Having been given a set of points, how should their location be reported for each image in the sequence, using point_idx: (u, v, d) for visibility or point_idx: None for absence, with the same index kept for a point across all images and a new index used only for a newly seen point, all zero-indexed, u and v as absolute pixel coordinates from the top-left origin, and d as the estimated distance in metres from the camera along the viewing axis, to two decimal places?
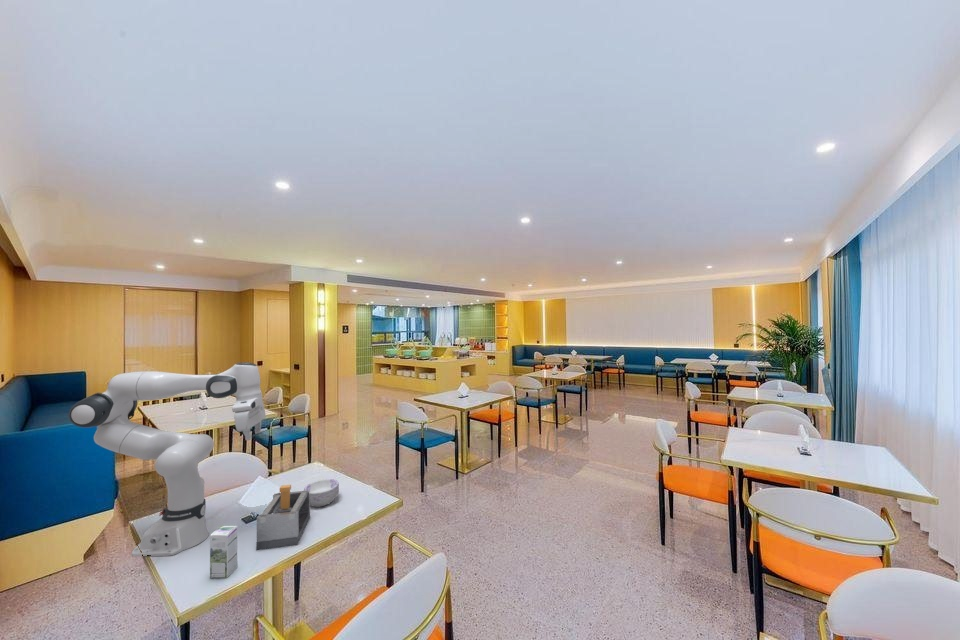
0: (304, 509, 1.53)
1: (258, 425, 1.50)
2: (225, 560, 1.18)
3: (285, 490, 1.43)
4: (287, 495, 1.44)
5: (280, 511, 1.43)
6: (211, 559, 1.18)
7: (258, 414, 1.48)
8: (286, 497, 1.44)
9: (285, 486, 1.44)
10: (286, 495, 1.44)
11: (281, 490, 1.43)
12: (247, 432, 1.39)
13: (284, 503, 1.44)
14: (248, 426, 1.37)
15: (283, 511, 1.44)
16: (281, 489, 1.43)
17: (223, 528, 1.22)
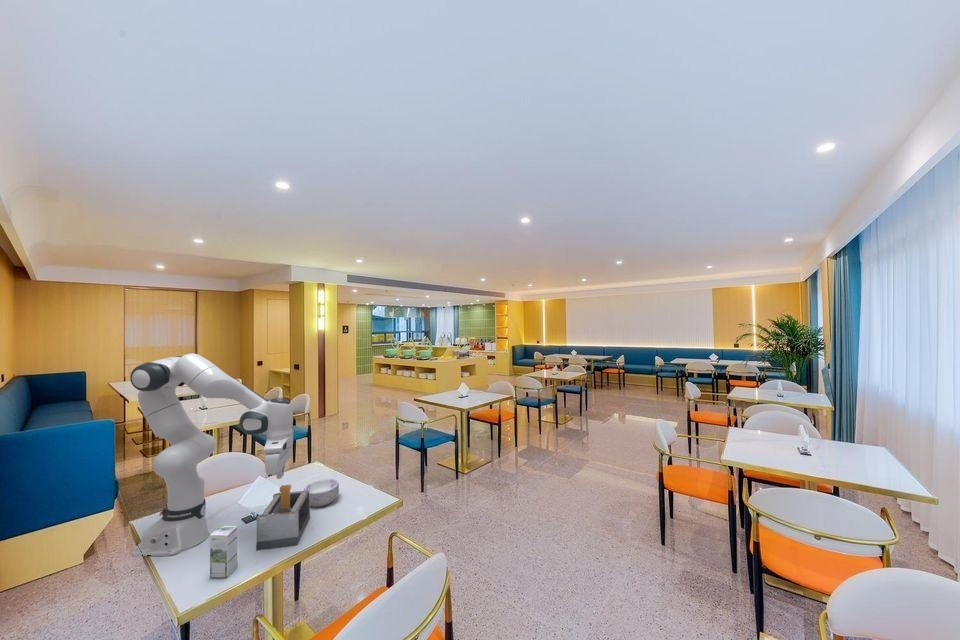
0: (304, 509, 1.53)
1: (282, 468, 1.39)
2: (225, 560, 1.18)
3: (285, 490, 1.43)
4: (287, 495, 1.44)
5: (280, 511, 1.43)
6: (211, 559, 1.18)
7: (287, 453, 1.41)
8: (286, 497, 1.44)
9: (285, 486, 1.44)
10: (286, 495, 1.44)
11: (281, 490, 1.43)
12: (279, 471, 1.36)
13: (284, 503, 1.44)
14: (278, 469, 1.30)
15: (283, 511, 1.44)
16: (281, 489, 1.43)
17: (223, 528, 1.22)
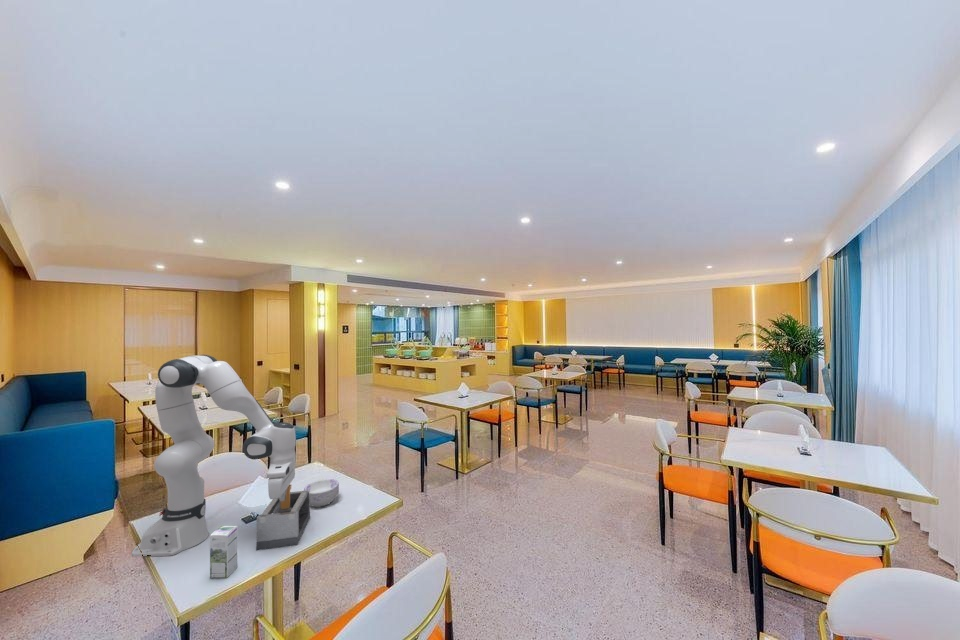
0: (304, 509, 1.53)
1: None
2: (225, 560, 1.18)
3: None
4: (287, 495, 1.44)
5: (280, 511, 1.43)
6: (211, 559, 1.18)
7: (289, 476, 1.44)
8: (286, 497, 1.44)
9: None
10: (286, 494, 1.44)
11: None
12: (282, 493, 1.40)
13: (284, 503, 1.44)
14: (281, 494, 1.34)
15: (283, 511, 1.44)
16: None
17: (223, 528, 1.22)
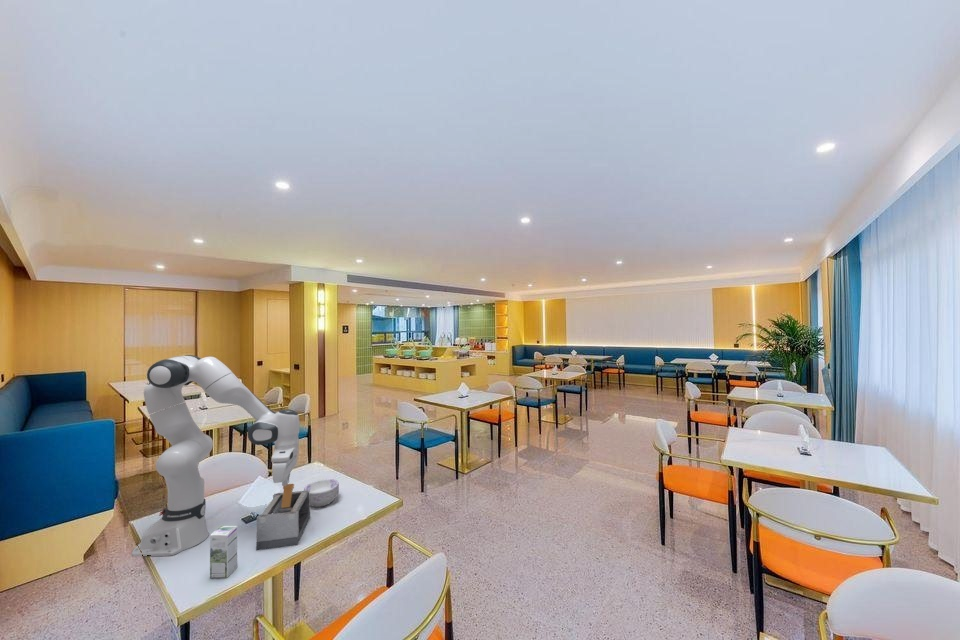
0: (304, 509, 1.53)
1: (287, 476, 1.47)
2: (225, 560, 1.18)
3: (288, 487, 1.48)
4: (289, 492, 1.47)
5: (280, 510, 1.43)
6: (211, 559, 1.18)
7: (292, 462, 1.49)
8: (288, 495, 1.47)
9: (289, 484, 1.49)
10: (288, 492, 1.47)
11: (284, 487, 1.47)
12: (285, 478, 1.44)
13: (285, 501, 1.45)
14: (284, 478, 1.38)
15: (283, 510, 1.44)
16: None
17: (223, 528, 1.22)
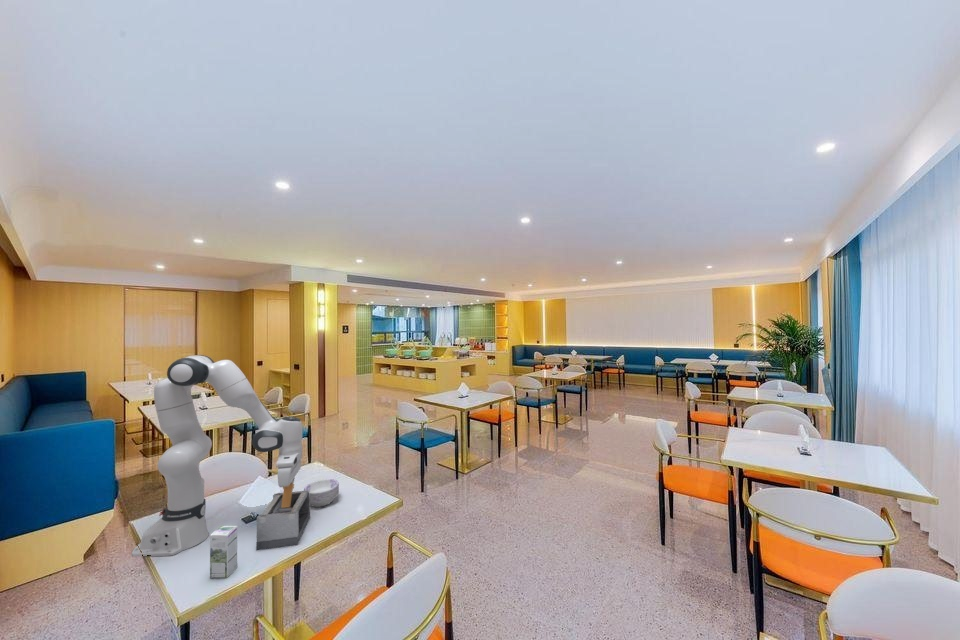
0: (304, 509, 1.53)
1: (291, 480, 1.53)
2: (225, 560, 1.18)
3: (288, 487, 1.48)
4: (289, 492, 1.47)
5: (280, 510, 1.43)
6: (211, 559, 1.18)
7: (296, 467, 1.54)
8: (288, 495, 1.47)
9: None
10: (288, 492, 1.47)
11: (284, 487, 1.47)
12: (290, 482, 1.50)
13: (285, 501, 1.45)
14: (289, 482, 1.44)
15: (283, 510, 1.44)
16: None
17: (223, 528, 1.22)
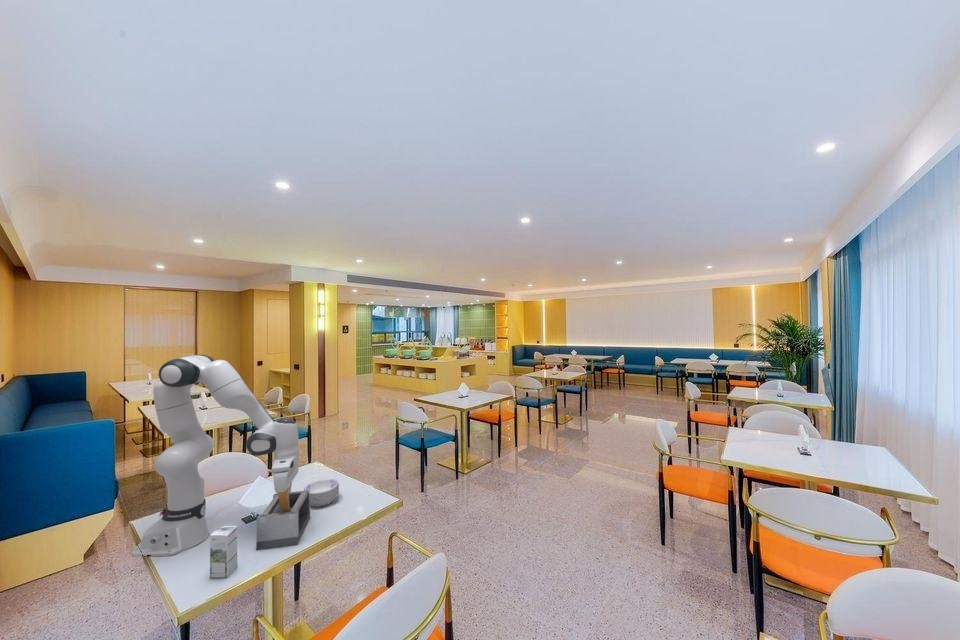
0: (304, 509, 1.53)
1: (289, 485, 1.46)
2: (225, 560, 1.18)
3: (283, 495, 1.41)
4: (286, 499, 1.42)
5: (280, 512, 1.43)
6: (211, 559, 1.18)
7: (293, 471, 1.47)
8: (285, 500, 1.42)
9: None
10: (284, 498, 1.42)
11: (279, 495, 1.41)
12: (287, 487, 1.43)
13: (283, 505, 1.43)
14: (286, 487, 1.37)
15: (283, 511, 1.44)
16: (279, 494, 1.40)
17: (223, 528, 1.22)
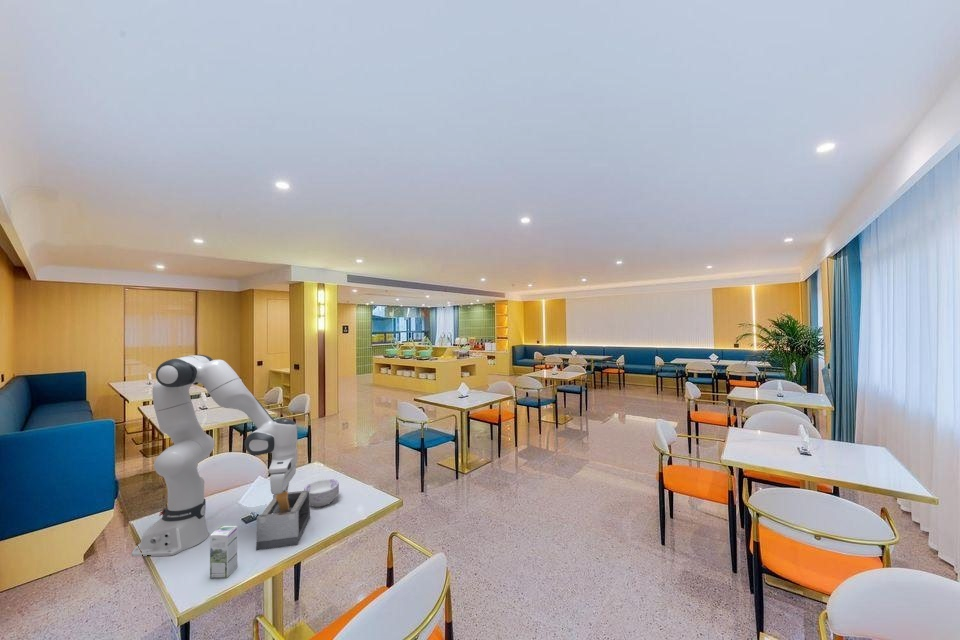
0: (304, 509, 1.53)
1: (286, 486, 1.45)
2: (225, 560, 1.18)
3: (282, 499, 1.39)
4: (285, 502, 1.41)
5: (280, 512, 1.43)
6: (211, 559, 1.18)
7: (291, 472, 1.46)
8: (284, 503, 1.41)
9: (281, 495, 1.40)
10: (283, 501, 1.41)
11: (278, 499, 1.39)
12: (283, 489, 1.41)
13: (283, 507, 1.42)
14: (282, 489, 1.35)
15: (283, 512, 1.44)
16: (277, 499, 1.39)
17: (223, 528, 1.22)
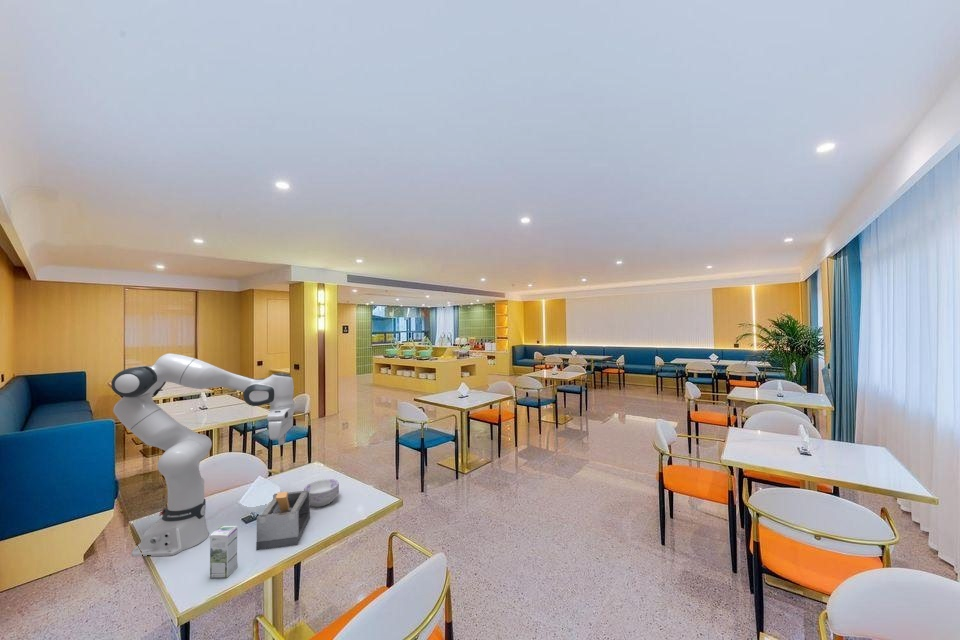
0: (304, 509, 1.53)
1: (283, 436, 1.54)
2: (225, 560, 1.18)
3: (282, 499, 1.39)
4: (285, 502, 1.41)
5: (280, 512, 1.43)
6: (211, 559, 1.18)
7: (288, 423, 1.55)
8: (284, 503, 1.41)
9: (281, 495, 1.40)
10: (283, 501, 1.41)
11: (278, 499, 1.39)
12: (281, 437, 1.51)
13: (283, 507, 1.42)
14: (280, 435, 1.45)
15: (283, 512, 1.44)
16: (277, 499, 1.39)
17: (223, 528, 1.22)
